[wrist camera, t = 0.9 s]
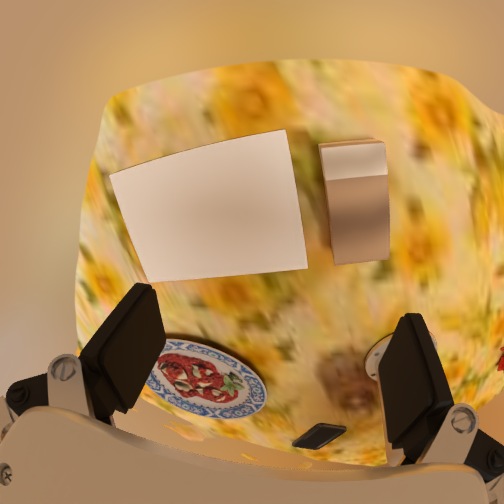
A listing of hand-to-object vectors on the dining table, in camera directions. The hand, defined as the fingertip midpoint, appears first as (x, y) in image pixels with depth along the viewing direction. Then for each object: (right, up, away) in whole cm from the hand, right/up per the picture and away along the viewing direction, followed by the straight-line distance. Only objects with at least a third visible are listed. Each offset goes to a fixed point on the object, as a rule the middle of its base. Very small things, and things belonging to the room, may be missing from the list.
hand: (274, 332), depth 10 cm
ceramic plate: (-10, -21, +39) cm, 45 cm away
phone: (+15, -41, +45) cm, 63 cm away
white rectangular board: (-6, +7, +22) cm, 24 cm away
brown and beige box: (+10, +9, +18) cm, 23 cm away
